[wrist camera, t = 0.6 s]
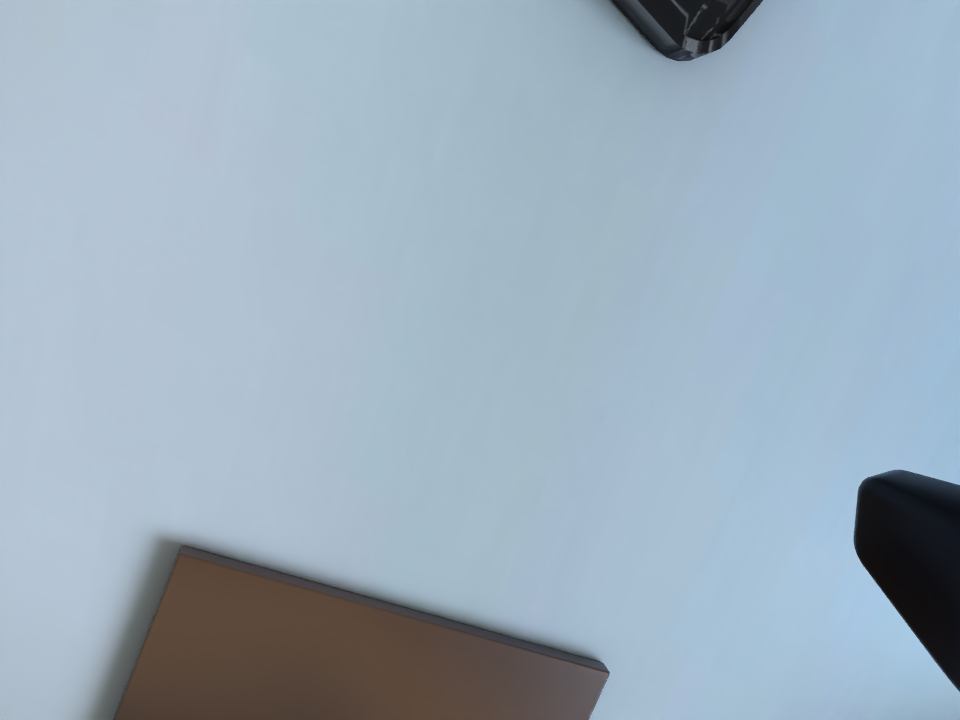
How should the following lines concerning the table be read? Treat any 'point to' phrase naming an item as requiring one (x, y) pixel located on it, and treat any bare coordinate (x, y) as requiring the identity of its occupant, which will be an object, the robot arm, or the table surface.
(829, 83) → the table surface
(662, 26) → the phone
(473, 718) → the coaster board
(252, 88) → the table surface
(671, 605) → the table surface
